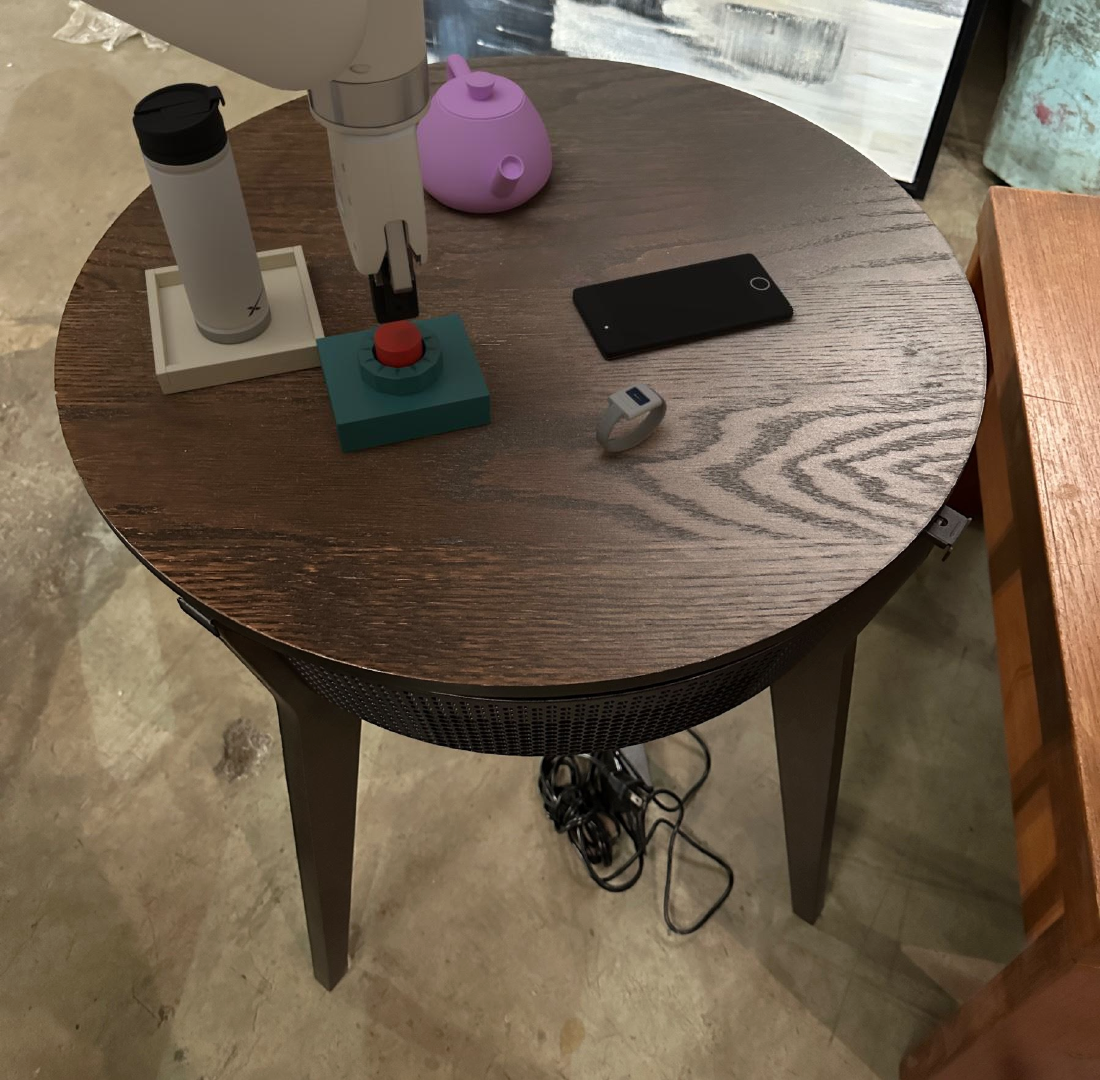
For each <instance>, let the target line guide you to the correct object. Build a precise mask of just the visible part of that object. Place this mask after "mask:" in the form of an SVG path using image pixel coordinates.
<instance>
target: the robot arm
mask: <svg viewBox="0 0 1100 1080" xmlns="http://www.w3.org/2000/svg"><path fill="white" fill-rule="evenodd" d="M79 1H81V2H82V3H85V4H86V5H89V6H91V7H93V8H95V9H97V10H99V11H101V12H103V13H105V14H108V15H109V16H111V17H113V18H115V19H117V20H119V21H121V22H123V23H125V24H127V25H129V26H131V27H134V28H136V29H138V30H140V31H142V32H143V33H146V34H148V35H150V36H153V37H154V38H156V39H159V40H161V41H162V42H165V43H168V44H169V45H171V46H173V47H176V48H178V49H180V50H182V51H184V52H187V53H189V54H191V55H194V56H196V57H198V58H200V59H203V60H205V61H206V62H209V63H211V64H215V65H217V66H220V67H221V68H223V69H226V70H228V71H230V72H233V73H235V74H237V75H240V76H242V77H244V78H246V79H249V80H251V81H253V82H256V83H259V84H261V85H264V86H266V87H269V88H272V89H275V90H281V91H288V92H289V91H291V92H301V91H306V94H307V101H308V105H309V112H310V114H311V115H312V118H313V119H314V120H315V121H316V122H317V123H319V124H320V126H322V127H324V128H326V131H327V132H326V133H327V140H328V147H329V154H330V161H331V169H332V175H333V186H334V192H335V200H336V205H337V210H338V214H339V218H340V220H341V225H342V226H343V231H344V235H345V237H346V241H347V245H348V247H349V251H350V254H351V257H352V260H353V263H354V266H355V269H356V271H358V272H359V273H360V274H361V275H363V276H364V277H368V282H369V290H370V296H371V302H372V304H371V305H372V309H373V312H374V314H375V315H374V316H375V319H376V322H377V323H378V324H379V325H382V324H386V323H391V322H396V321H406V320H413V319H416V318H418V317H419V316H420V307H419V299H418V298H419V297H418V289H417V277H416V273H415V270H414V269H415V268H414V261H415V263H416V264H418V265H419V266H420V267H423V266H424V265H425V263H426V262H427V261H428V258H429V243H428V228H427V215H426V204H425V193H424V188H423V182H422V173H421V164H420V154H419V146H418V138H417V123H419V121H420V120H421V119H422V118H423V117H424V116H425V115H426V114H427V112H428V111H429V108H430V104H431V100H432V98H431V89H430V88H431V87H430V74H429V73H430V72H429V61H428V49H427V38H426V21H425V8H424V7H425V6H424V0H79Z"/></svg>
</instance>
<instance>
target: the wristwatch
mask: <svg viewBox="0 0 1100 1080" xmlns="http://www.w3.org/2000/svg"><path fill="white" fill-rule="evenodd" d="M606 402H607V404H608V405H610V406H609V407H608V408H607V409H606V410H605V412H604V413H603V415H602V416H601V418H600V420H599V421H598V424H597V427H596V429H595V439H596V441H597V442H598V443H599V444H600V445H601V446H602V447H603V448H604V449H605V450H606V451H608V452H610V453H611V452H612V453H620V452H625V451H627V450H630V449H632V448H635V447H636V446H638V445H640V444H641V443H643V442H644V441H645V440H646V439H648V438H649V437H650V436H651V435H652V434H653V433H654V431H655V430H656V429H657V428H658V427H659V426H660V424H661V423H662V421H663V420H664V418H665V416H666V413H667V409H668V407H667V401H666V400H665V399H664V397H662V395H660V393H658V392H657V391H656V390H655V389H654V388H652V387H649V386H648V385H646V383H644V381H642V380H639V381H636V382H634V383H632V384H630V385H628V386H627V387H625V388H623V389H620V390H619V391H616V392H615V393H612V394H611V395H609V396H607V397H606ZM648 412H649V413H648ZM646 413H648V414H647V415H646V416H645V418H644V419H643V420H642V421H641V422H640V423H639V424H638V426H636V427H635V428H634V429H632V430H631V431H630V432H628V433H627V434H625V435H623V436H621V437H618V438H615V439H610V436H611V433H612V431H613V429H614V427H615V426H616V424H617V423H618V421H619V420H620V419H621V418H623V419H624V420H625V421H627V422H628V423H629V422H631V421H633V420H635V419H637V418H639V417H640V416H643V415H644V414H646Z"/></svg>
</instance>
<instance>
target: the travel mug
mask: <svg viewBox="0 0 1100 1080" xmlns="http://www.w3.org/2000/svg"><path fill="white" fill-rule="evenodd" d="M220 103H221V106H222V107H225V106H226V100H225V97H224V95H223V92H222V90H221V88H220V87H219V86H218V85H211V86H208V85H207V84H203V83H197V82H181V83H174V84H171V85H170V84H169V85H166V86H163V87H161V88H158V89H156V90H154V91H152V92H150V93H148V94H147V95H145V96H144V97H143V98H142V99H140V100H139V102H137V104H135V106H134V110H133V116H132V125H133V128H134V132H135V135H136V138H137V139H138V144H139V149H140V153H141V156H142V158H143V163H144V165H145V169H146V172H147V175H148V179H149V181H150V184H151V187H152V192H153V194H154V198H155V200H156V203H157V207H158V208H159V212H160V216H161V219H162V222H163V225H164V229H165V231H166V235H167V237H168V241H169V243H170V248H171V250H172V253H173V256H174V260H175V263H176V265H177V266H178V269H179V272H180V275H181V278H182V282H183V285H184V288H185V291H186V294H187V297H188V300H189V303H190V307H191V310H192V312H193V316H194V319H195V322H196V325H197V328H198V330H199V332H200V333H201V334H202V335H203V336H205V337H206V338H208V339H210V340H212V341H215V342H219V343H237V342H242V341H246V340H249V339H251V338H253V337H255V336H257V335H258V334H260V333H261V332H262V331H263V330H264V329H265V328H266V327H267V325H268V324H269V321H270V319H271V311H270V307H269V303H268V299H267V295H266V290H265V286H264V282H263V278H262V274H261V270H260V266H259V261H258V257H257V253H256V252H257V248H256V245H255V242H254V237H253V234H252V229H251V225H250V221H249V216H248V212H247V208H246V204H245V200H244V196H243V191H242V188H241V183H240V179H239V175H238V171H237V166H236V163H235V159H234V155H233V150H232V147H231V146H232V145H231V143H230V138H229V134H228V132H227V128H226V125H225V120H224V117H223V115H222V113H221V111H220V107H219V106H220Z"/></svg>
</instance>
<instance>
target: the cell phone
mask: <svg viewBox="0 0 1100 1080" xmlns="http://www.w3.org/2000/svg"><path fill="white" fill-rule="evenodd" d="M572 301H573V303H574V306H575V307H576V309H577V311H578V313H579V314H580V317H581V318H582V320H583V322H584V324H585V325H586V327H587V329H588V332H589V333H590V335H591V337H592V338H593V341H594V343H595V344H596V346H597V348H598V349H599V351H600V354H601V355H602V356H603V357H604V358H605V359H607V360H611V359H615V358H619V357H624V356H628V355H632V354H636V353H641V352H646V351H650V350H654V349H655V350H656V349H660V348H664V347H669V346H673V345H674V346H675V345H678V344H681V343H683V344H684V343H687V342H691V341H697V340H700V339H705V338H709V337H714V336H719V335H723V334H727V333H732V332H736V331H741V330H746V329H750V328H755V327H759V326H763V325H769V324H772V323H778V322H783V321H787V320H788V321H789V320H792V319H793V316H794V314H795V309H794V307H793V306H792V304H791V302H790V301H789V300H788V299H787V297H786V296H785V294H784V293H783V292H782V290H781V289H780V288H779V286H778V285H777V284H776V283H775V281H774V280H773V278H772V277H771V276H770V274H769V273H768V271H767V270H766V268H765V267H764V266H763V264H761V262H760V261H759V259H758V258H757V257H756V256H755V254H753V253H750V252H747V253H742V254H737V255H732V256H726V257H721V258H717V259H712V260H707V261H702V262H697V263H692V264H687V265H682V266H677V267H673V268H667V269H663V270H657V271H652V272H647V273H643V274H638V275H633V276H627V277H623V278H618V279H613V280H608V281H603V282H597V283H592V284H589V285H584V286H580V287H575V288H574V289H573V290H572ZM788 301H789V302H788ZM790 305H791V306H790ZM792 307H793V308H792ZM793 309H794V310H793ZM793 311H794V312H793Z"/></svg>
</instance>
